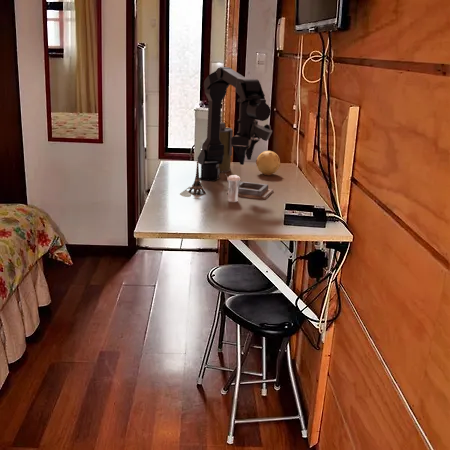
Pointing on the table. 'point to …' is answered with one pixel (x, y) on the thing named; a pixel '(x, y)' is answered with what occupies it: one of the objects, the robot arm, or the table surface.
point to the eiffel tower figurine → (194, 187)
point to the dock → (254, 190)
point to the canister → (226, 147)
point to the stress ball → (268, 162)
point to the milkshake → (233, 188)
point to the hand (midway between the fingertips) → (245, 162)
